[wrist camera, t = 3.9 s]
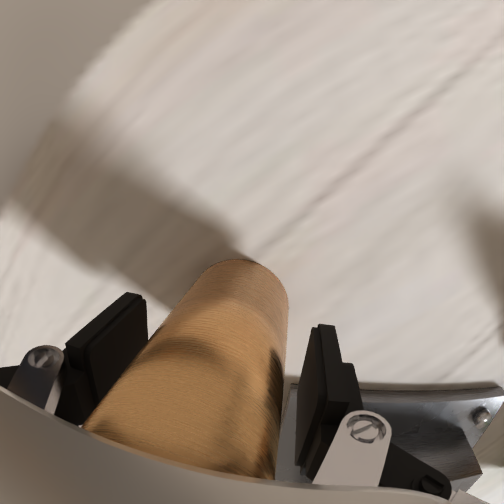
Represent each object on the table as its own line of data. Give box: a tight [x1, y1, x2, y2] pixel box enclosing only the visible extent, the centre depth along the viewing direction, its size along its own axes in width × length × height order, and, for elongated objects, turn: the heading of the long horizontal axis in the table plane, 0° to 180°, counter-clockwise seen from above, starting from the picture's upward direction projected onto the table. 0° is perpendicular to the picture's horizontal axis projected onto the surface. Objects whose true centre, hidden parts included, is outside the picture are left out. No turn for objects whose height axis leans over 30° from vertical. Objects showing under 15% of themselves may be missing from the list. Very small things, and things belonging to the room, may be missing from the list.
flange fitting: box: [275, 384, 504, 492], centre depth 14 cm, size 14×14×5 cm
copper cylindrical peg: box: [81, 259, 289, 480], centre depth 9 cm, size 4×4×10 cm
